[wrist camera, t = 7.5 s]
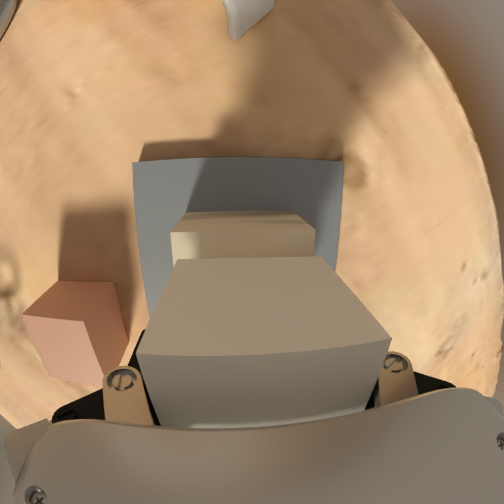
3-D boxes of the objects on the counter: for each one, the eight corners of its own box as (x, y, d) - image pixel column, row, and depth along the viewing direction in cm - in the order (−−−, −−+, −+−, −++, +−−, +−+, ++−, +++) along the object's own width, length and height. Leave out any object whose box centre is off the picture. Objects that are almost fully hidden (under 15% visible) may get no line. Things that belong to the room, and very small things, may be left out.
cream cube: (177, 259, 11) (135, 353, 5) (320, 256, 11) (391, 338, 6) (191, 368, 13) (180, 468, 7) (306, 363, 13) (340, 456, 8)
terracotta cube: (58, 280, 19) (21, 314, 14) (114, 281, 20) (83, 321, 14) (75, 336, 21) (49, 376, 16) (129, 341, 22) (109, 388, 16)
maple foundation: (185, 212, 17) (170, 232, 13) (292, 210, 18) (315, 229, 13) (192, 307, 20) (184, 349, 15) (287, 304, 20) (303, 344, 15)
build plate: (138, 162, 17) (132, 162, 16) (336, 161, 18) (343, 161, 17) (158, 334, 22) (155, 343, 20) (320, 329, 23) (324, 337, 22)
